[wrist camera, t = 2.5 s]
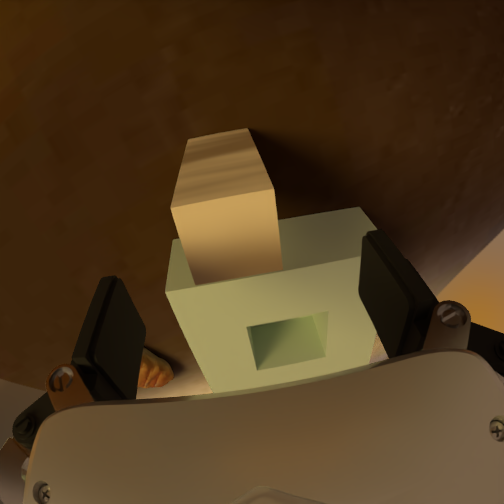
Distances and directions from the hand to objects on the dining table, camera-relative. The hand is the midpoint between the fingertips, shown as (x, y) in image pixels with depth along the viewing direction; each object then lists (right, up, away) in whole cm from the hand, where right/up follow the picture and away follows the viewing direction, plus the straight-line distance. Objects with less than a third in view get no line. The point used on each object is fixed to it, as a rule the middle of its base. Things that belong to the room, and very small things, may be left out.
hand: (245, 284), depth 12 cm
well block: (+3, -2, +17) cm, 17 cm away
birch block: (-2, +7, +9) cm, 12 cm away
